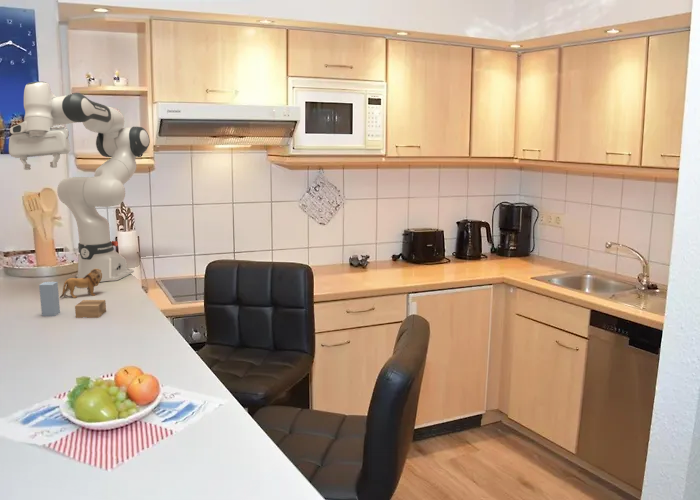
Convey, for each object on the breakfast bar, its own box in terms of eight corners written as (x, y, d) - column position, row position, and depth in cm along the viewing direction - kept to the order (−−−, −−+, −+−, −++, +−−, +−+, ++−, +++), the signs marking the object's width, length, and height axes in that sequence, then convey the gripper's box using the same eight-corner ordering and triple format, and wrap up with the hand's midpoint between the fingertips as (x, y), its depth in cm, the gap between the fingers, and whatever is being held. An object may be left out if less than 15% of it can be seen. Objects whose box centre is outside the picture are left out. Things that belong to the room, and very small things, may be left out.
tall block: (47, 312, 209) (44, 281, 207) (60, 312, 209) (57, 281, 207) (41, 316, 205) (39, 285, 203) (54, 316, 205) (52, 284, 203)
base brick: (84, 312, 210) (83, 299, 209) (106, 311, 210) (105, 299, 210) (75, 318, 203) (74, 305, 203) (98, 318, 204) (97, 305, 203)
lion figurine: (100, 291, 235) (98, 266, 233) (105, 294, 231) (104, 269, 229) (57, 297, 226) (55, 272, 224) (62, 301, 222) (60, 275, 220)
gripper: (72, 128, 226) (74, 167, 225) (16, 133, 228) (17, 172, 227) (63, 123, 220) (64, 164, 219) (5, 128, 221) (6, 169, 221)
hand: (40, 168), depth 223 cm, fingers open, 8 cm apart
